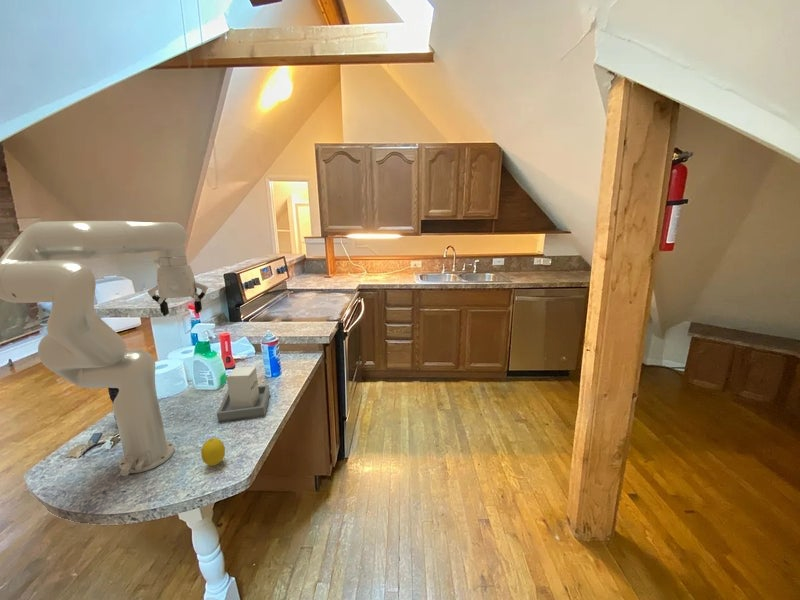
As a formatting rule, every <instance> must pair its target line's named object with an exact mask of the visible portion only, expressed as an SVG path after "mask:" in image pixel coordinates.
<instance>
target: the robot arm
mask: <svg viewBox="0 0 800 600" xmlns="http://www.w3.org/2000/svg"><path fill="white" fill-rule="evenodd" d="M187 234H188V233H187V231H186V229H185V228H184V226H183V225H181V224H180V223H178V222H175V221H174V222H172V221H171V222H166V221H164V222H162V221H159V222H157V221H156V222H147V221H146V222H145V221H131V220H69V221H67V220H66V221H65V220H63V221H59V220H58V221H39V222H38V221H37V222H34V223H32V224H31V225H29V226H28V227H26V228H25V229H24V230H23V231H22V232H20V234H19V235H18V236H17V237H16V238H15V239H14V240H13V241H12V243H11V244H10V246H9V247H8V248H7V249H6V250H5V252H4V253H3V254H2V255H1V256H0V300H2V301H5V302H8V303H13V304H14V303H15V304H32V303H33V304H35V303H36V304H37V303H52V304H51V309H50V312H49V317H48V319H47V321H46V331H47V333H46V334H45V335H44V336H43V337H42V338H41V339H40V341H39V342H38V343H39V344H38V346H37V347H38V348H37V353H38V357H39V360H40V362H41V363H42V364H43V366H45V368H46V369H48V370H49V371H51V372H52V373H55V374H56V375H57V376H59V377H61V378H63V379H64V380H66V381H68V382H70V383H71V384H73V385H75V386H77V387H80V388H83V389H108V388H118V389H119V393H118V395H117V396H116V398H115V400H114V402H113V403H112V408H113V409H112V410H113V415H114V414H115V417H114V419H115V418H116V420H115V422H117V423H116V427H117V426H118V427H117V431H118V433H119V439H120V443H121V446H122V450H123V456H122V457H120V459H119V462H118V467H119V470H120V471H119V474H120V476H123V477H125V476H128V475H129V474H137V473H142V472H143V473H144V472H147V471H149V470H152V469H154V468H157V467H158V466H160V465H162V464H163V463H165V462H167V461H168V460H170V458H171V457H172V456H173V454H174V453H175V445H174V443H173V442H172V441H170V440H167V439H166V438H167V437H166V433H165V428H164V423H163V419H162V414H161V408H160V404H159V400H158V395H157V389H156V388H157V387H156V360H155V358H154V356H153V355H152V354H151V353H150V352H148V351H146V350H142V349H129V348H128V347H127V343H126V342H125V340H124V338H123V337H122V336H121V335H120V334H119V333H117V332H116V331H115V329H113V328H112V327H111V326H109V324H107V323H106V322H105V321H104V320H103V319H101V317H99V316H98V315H97V313H96V311H95V297H96V296H95V295H96V286H97V285H96V284H97V283H96V278H95V274H94V273H93V272H92V270H91V268H89V267H88V266H87V265H85V264H83V263H82V262H78V261H75V260H92V259H102V258H107V257H114V256H124V255H125V256H126V255H136V254H144V253H150V252H156V253H157V255H158V257H157V258H155V259H154V260H153V262H154V264H158V266H157V267H156V284H157V285H156V286H154V287H152V288H151V289H149V290H147V293H148V295H149V296H150V297H151V299H152V300H153V301H155V302H156V303H157V304H158V305H159V308H160V313H161V314H162V316H163V317H166V316H167V315H168V314H170V311H169V305H168V301H166V300H168V299H182V298H192V299H193V300H194V302H193V305H194V310H195V314H199V313H201V312H202V309H203V306H202V300H203V298H204V297H205V296H206V294H207V292H208V289H209V287H208V286H206V285H204V284H202V283H199V282H196V278H195V275H194V272H193V270H192V269H193V268H192V266H191V265H190V264H188V257H187V252H186V248H185V244H186V242H187V241H188V235H187ZM198 289H199V290H201V292H200V294H199V293H198V292H197V291H198ZM156 292H158V294H157V293H156Z"/></svg>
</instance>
